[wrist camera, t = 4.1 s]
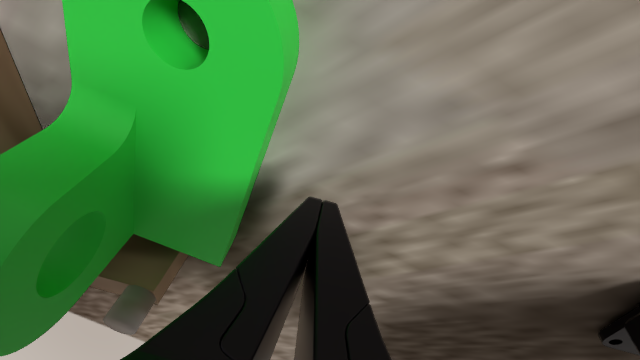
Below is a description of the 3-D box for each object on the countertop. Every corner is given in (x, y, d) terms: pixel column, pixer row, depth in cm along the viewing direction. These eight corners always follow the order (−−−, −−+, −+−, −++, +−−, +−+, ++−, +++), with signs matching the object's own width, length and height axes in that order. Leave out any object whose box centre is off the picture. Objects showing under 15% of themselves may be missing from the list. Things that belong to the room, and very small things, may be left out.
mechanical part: (236, 234, 16) (140, 427, 10) (118, 187, 15) (-65, 362, 9) (331, -30, 9) (181, 83, 2) (110, -142, 8) (-849, -372, 2)
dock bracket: (125, -283, 6) (-192, -533, 3) (188, 255, 18) (138, 337, 14) (-214, -363, 7) (-902, -691, 3) (61, 222, 18) (-20, 294, 14)
